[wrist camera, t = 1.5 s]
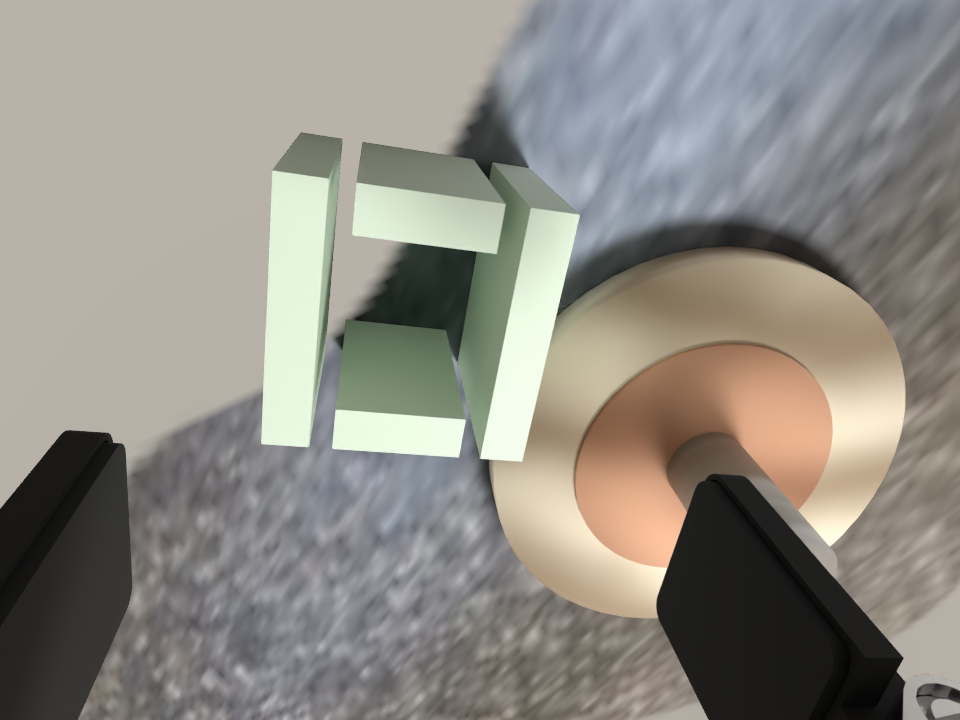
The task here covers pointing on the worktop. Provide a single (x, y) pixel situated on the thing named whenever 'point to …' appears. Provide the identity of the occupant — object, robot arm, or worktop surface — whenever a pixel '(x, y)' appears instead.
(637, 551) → the post base
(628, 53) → the worktop surface
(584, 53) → the worktop surface
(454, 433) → the collar
